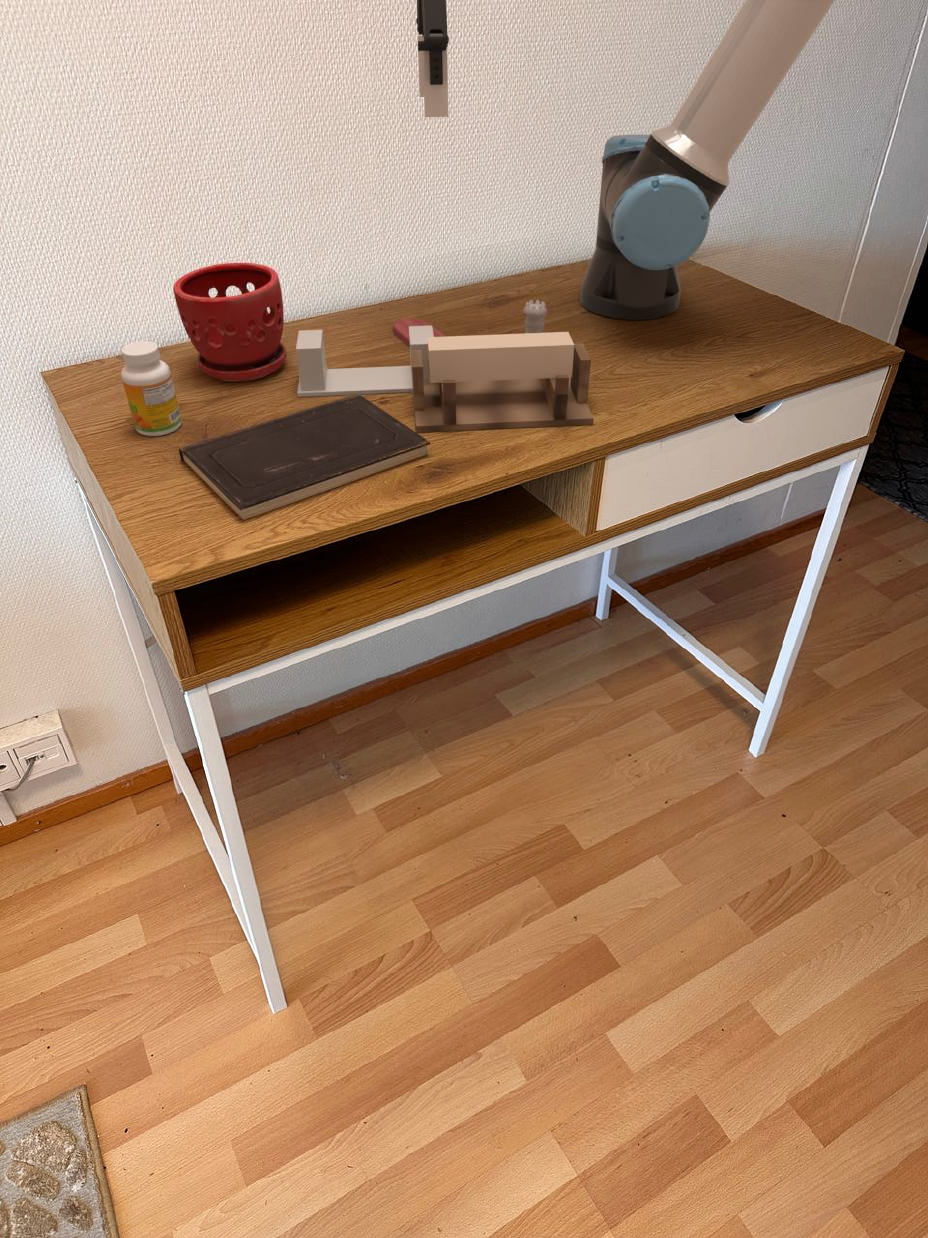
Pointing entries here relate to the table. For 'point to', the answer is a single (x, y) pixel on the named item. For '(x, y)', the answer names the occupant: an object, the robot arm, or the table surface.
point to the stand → (355, 369)
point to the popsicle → (403, 328)
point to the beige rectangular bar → (500, 357)
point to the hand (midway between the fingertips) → (433, 106)
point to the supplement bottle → (149, 390)
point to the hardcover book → (302, 454)
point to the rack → (503, 400)
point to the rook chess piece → (535, 316)
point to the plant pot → (233, 320)
